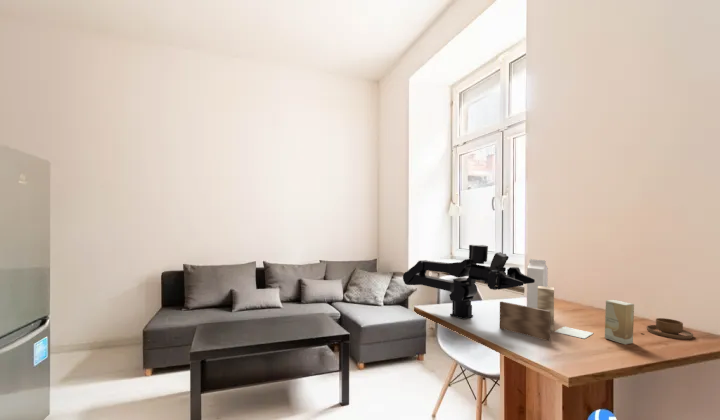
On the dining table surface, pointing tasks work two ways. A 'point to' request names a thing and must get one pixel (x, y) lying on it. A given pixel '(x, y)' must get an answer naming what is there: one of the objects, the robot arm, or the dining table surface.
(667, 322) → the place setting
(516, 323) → the screen
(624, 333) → the skincare box
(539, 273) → the milk
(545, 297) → the wooden block
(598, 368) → the dining table surface
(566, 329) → the mat
